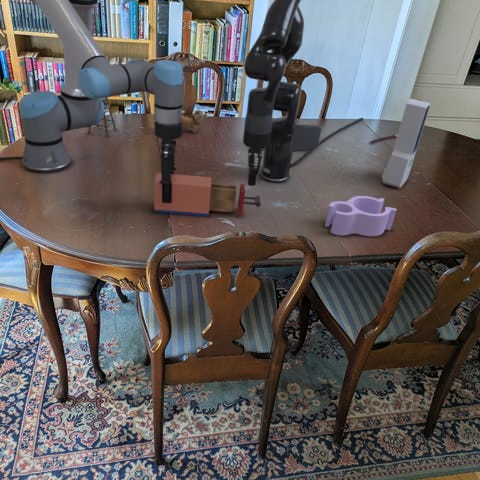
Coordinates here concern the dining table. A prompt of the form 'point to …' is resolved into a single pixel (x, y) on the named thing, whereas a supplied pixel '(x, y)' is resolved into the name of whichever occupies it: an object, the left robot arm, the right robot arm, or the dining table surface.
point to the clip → (359, 216)
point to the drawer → (229, 198)
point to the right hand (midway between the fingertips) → (251, 184)
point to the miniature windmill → (105, 119)
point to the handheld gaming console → (306, 137)
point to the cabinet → (184, 195)
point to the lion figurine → (193, 120)
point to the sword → (383, 138)
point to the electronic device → (406, 143)
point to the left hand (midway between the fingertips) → (168, 196)
